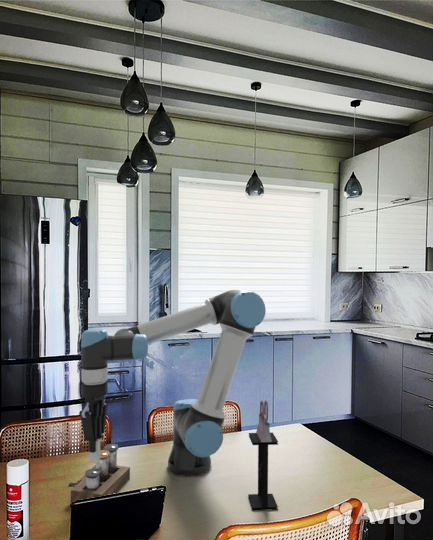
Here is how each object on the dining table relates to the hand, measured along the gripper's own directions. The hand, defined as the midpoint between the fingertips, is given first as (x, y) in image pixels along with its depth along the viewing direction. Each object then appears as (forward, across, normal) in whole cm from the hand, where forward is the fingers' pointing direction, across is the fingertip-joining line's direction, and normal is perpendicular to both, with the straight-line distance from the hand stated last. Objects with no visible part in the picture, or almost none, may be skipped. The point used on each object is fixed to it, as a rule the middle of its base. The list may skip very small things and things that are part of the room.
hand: (94, 461), depth 122 cm
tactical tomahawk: (+12, -16, -10) cm, 22 cm away
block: (+11, -5, -1) cm, 12 cm away
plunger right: (+8, -11, -1) cm, 13 cm away
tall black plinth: (+12, -11, +48) cm, 51 cm away
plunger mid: (+8, -5, -1) cm, 9 cm away
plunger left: (+11, 0, -1) cm, 11 cm away
